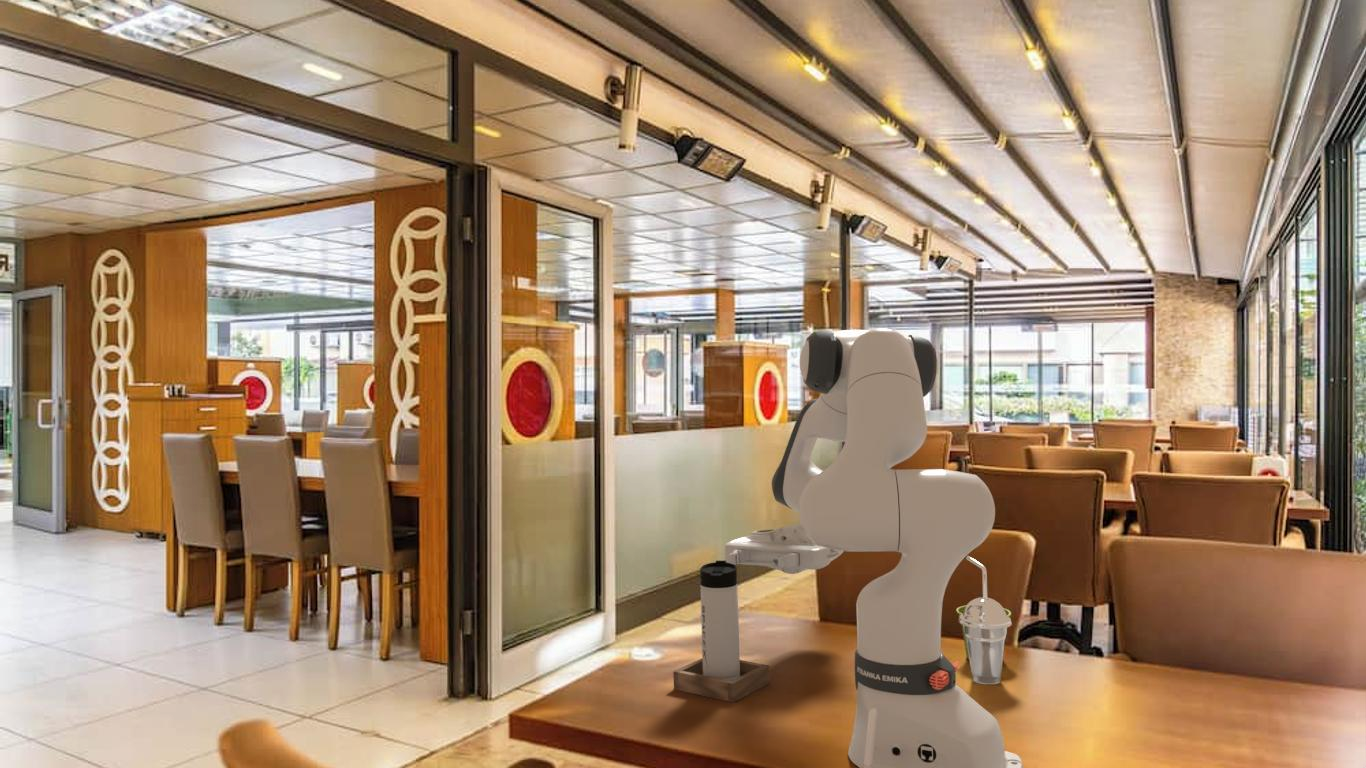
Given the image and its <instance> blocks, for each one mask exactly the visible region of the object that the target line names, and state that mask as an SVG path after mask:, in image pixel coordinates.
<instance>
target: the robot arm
mask: <svg viewBox="0 0 1366 768" xmlns="http://www.w3.org/2000/svg"><path fill="white" fill-rule="evenodd" d="M799 368H800V372H801V376H802V378H803V383H804V384H805V385H806V387H807V388H808V389H809V390H811V391H813V392H817V393H819V397H818V398H813V399H811V400H810V401H808V402H807V403H806V404H805V405H804V406H803V408H802V409H801V411H800V413H799V414H798V416H797V418H796V421H795V422H794V426H793V428H792V431H791V434H790V437H789V440H788V442H787V445H786V448H785V450H784V453H783V456H782V458H781V461H780V463H779V465H778V467H777V469H776V471H775V472H774V474H773V477H772V478H771V479H772V480H771V490H772V494H773V497H774V499H775V501H776V502H778V503H779V504H781V505H783V506H785V507H787V508H789V509H792V510H793V511H795V512H796V513H798V517H799V521H800V523H796V524H792V525H789V526H783V527H779V528H775V529H764V530H763V529H762V530H754V531H751V533H750V534H751V535H746V536H745V535H744V536H742V537H738V538H735V539H733V540H731V541H728V542H726V543H725V545H724V559H725V560H724V561H726V563H731V564H734V565H748V566H761V567H765V568H772V569H775V570H778V571H781V572H783V573H785V574H788V575H794V574H796V575H797V574H800V573H802V572H805V571H808V570H820V569H823V568H825V567H827V566H829V565H830V563H831V562H832V561H834V560H835V559H837V558H839V556H841V555H842V554H843V553H844V552H848V553H849V552H853V553H854V552H855V553H856V552H859V553H861V552H868V553H869V552H897V553H901V557H900V560H899V562H898V564H897V565H896V566H895V568H893V569H892V570H891V571H889V572H887V573H885V574H883V575H881V576H878V577H877V578H875V579H873V580H871V581H870V582H869V583H868V584H866V585H865V586H863V588H862V589H861V591H860V592H859V594H858V596H857V600H856V604H855V605H856V632H857V634H856V636H857V637H856V639H857V648H856V650H855V651H854V683H855V689H856V691H857V693H856V694H857V695H856V709H855V718H854V724H853V725H854V726H853V730H852V736H851V741H850V744H849V748H848V751H847V753H848V758H849V760H850V761H851V762H852V763H853V764H854V765H855V766H857V767H858V768H1024V766H1023V762H1022V759H1021V757H1020V756H1019V755H1018V754H1016V753H1014V752H1010V751H1007V750H1005V744H1004V738H1003V734H1002V730H1001V728H1000V727H1001V726H1000V725H999V722H998V720H997V719H996V717H995V716H994V715H992V714H991V713H990V712H989V711H988V710H986V709H985V708H984V707H983V706H982V705H980V704H979V703H978V702H977V701H976V700H975V699H974V698H972V697H971V696H970V695H969V694H968V693H967V692H965V690H963V689H962V687H960V686H958V685H957V683H956V682H957V680H956V679H957V678H956V675H957V674H956V672H958V671H959V670H960V666H959V665H960V660H956V661H954V663H951V661H950V660H948V659H947V658H946V656H945V654H944V653H943V652H942V638H941V637H942V613H943V602H944V596H945V592H946V589H947V586H948V584H949V581H950V579H951V577H952V576H953V573H954V572H955V570H956V569H957V567H958V566H959V564H960V563H961V562H962V561H963V560H964V559H965V557H967V556H968V554H970V553H971V552H972V551H973V550H974V549H976V548H978V547H979V546H980V545H982V543H984V541H986V540H987V538H988V537H989V535H990V534H991V531H992V529H993V527H994V523H995V520H996V519H995V517H996V506H995V502H994V497H993V495H992V493H991V491H990V489H989V487H988V485H986V483H985V482H984V481H983V480H982V479H981V478H980V477H979V476H978V475H976V474H974V473H973V474H972V473H969V472H968V473H967V472H963V471H957V470H950V469H945V468H944V469H943V468H930V469H929V468H928V469H925V468H924V469H918V468H917V469H894V468H892V467H895V466H896V465H898V464H901V463H903V462H904V461H906V460H908V459H910V458H911V457H912V456H914V454H916V453H917V451H919V450H920V448H921V447H922V446H923V445H924V443H925V441H926V439H927V434H928V424H927V417H926V407H925V400H924V398H925V397H926V396H927V395H928V394H929V393H930V392H931V391H932V390H933V388H934V386H935V382H936V379H937V376H938V371H939V364H938V358H937V352H936V348H935V347H934V345H933V344H932V342H931V341H930V340H929V339H927V338H925V337H922V336H918V335H915V334H909V335H903V334H902V333H900V332H899V331H896V330H894V329H891V328H884V327H882V328H873V329H842V330H839V329H838V330H833V329H831V328H827V329H821V330H819V329H818V330H816V331H813V332H812V333H811V334H809V336H807V337H806V340H805V343H803V346H802V349H801V351H800V355H799ZM818 439H823V440H828V441H833V442H838V443H841V442H842V443H843V442H844V444H843V447H842V449H841V450H840V453H839V454H838V455H837V457H836V458H835V459H834V460H833V462H832V463H831V464H830V465H829V466H828V467H826V468H825V469H821V468H820V467H818V466H817V465H816V464H815V463H814V462H813V461H812V459H811V456H812V453H813V451H814V447H815V445H816V443H817V440H818Z"/></svg>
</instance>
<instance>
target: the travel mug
mask: <svg viewBox="0 0 1366 768" xmlns="http://www.w3.org/2000/svg"><path fill="white" fill-rule="evenodd" d="M737 569H738V567H737V566H736V564H731V563H727V562H726V560H715V562H710V563H706V564H703V565H702V566H701V567H700V568H699V570H700V571H699V572H700V585H699V586H700V619H701V620H700V621H701V647H702V648H701V653H702V658H703V675H705V676H710V677H714V678H719V679H724V680H729V681H732V680H734V679H736V678H738V677H740V660H741V658H740V628H739V627H740V623H739V622H740V621H739V591H738V588H739V587H738V585H739V584H738V570H737ZM702 658H701V659H702Z"/></svg>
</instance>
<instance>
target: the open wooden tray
mask: <svg viewBox="0 0 1366 768" xmlns="http://www.w3.org/2000/svg"><path fill="white" fill-rule="evenodd" d="M672 673H673V690H676V691H681V692H685V693H689V694H694V695H697V696H703V697H707V698H708V697H709V698H712V699H717V700H719V701H720V700H721V701H724V702H725V701H726V702H728V703H729V702H730V703H735V702H737V701H738V700H739V701H740V700H741V699H742V698H744V697H746V696H748V695H750V694H752V693H754V692H756V691H758V690H760V689H761V688H763V687H765V686H766V685H769V684H770V665H769V664H763V663H758V662H754V661H747V660H744V659H743V660H742V659H740V677H738V678H736V679H734V680H732V681H729V680H724V679H719V678H714V677H710V676H705V675H703V658H699V659H697V660H695V661H693V662H691V663H688V664H687V665H684V666H681V667H679V668H678V669H675V670H673V671H672Z"/></svg>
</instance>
